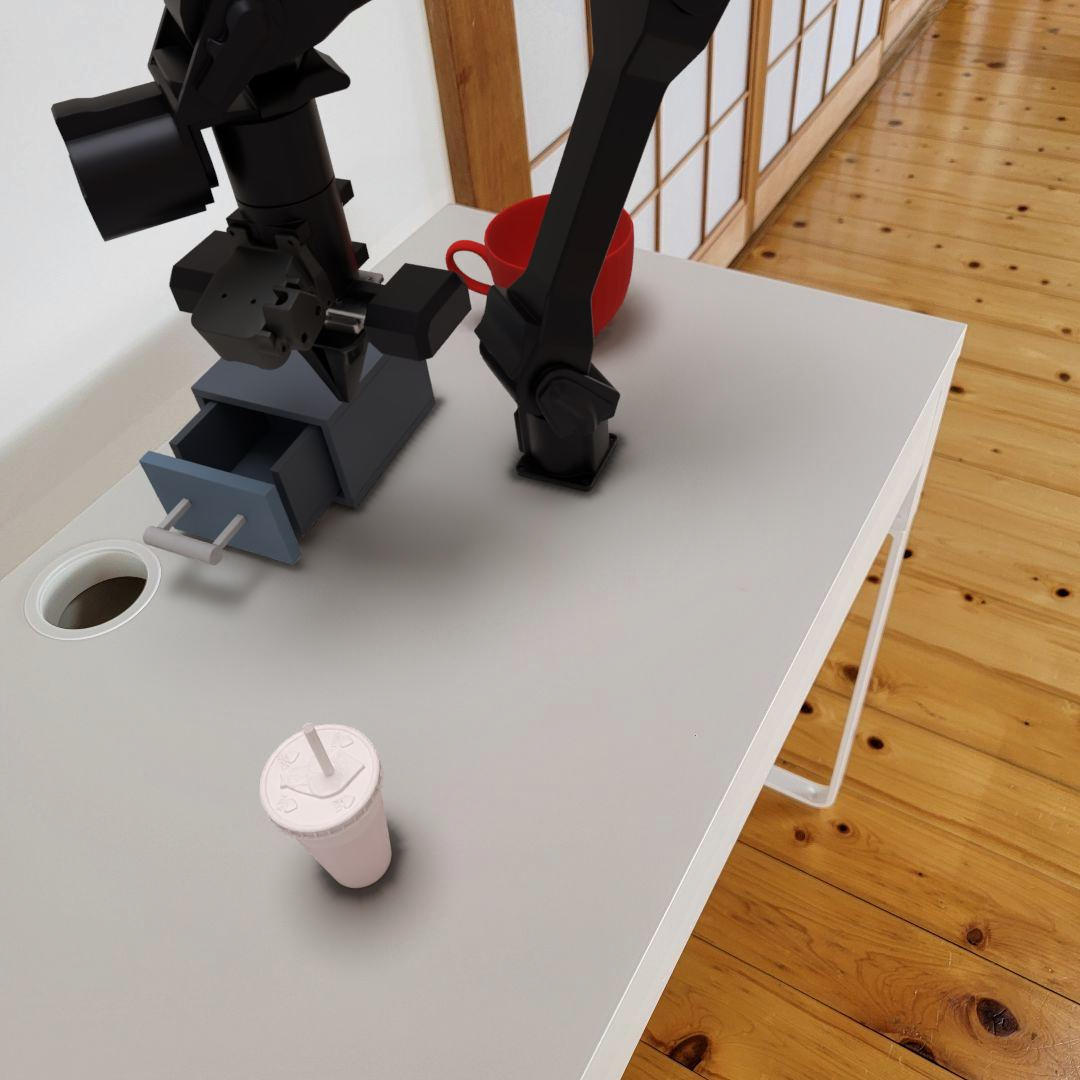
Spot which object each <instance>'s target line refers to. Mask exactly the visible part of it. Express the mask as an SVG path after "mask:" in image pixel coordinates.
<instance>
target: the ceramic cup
mask: <svg viewBox="0 0 1080 1080" xmlns="http://www.w3.org/2000/svg"><path fill="white" fill-rule="evenodd" d="M550 194H551V193H546V194H540V195H537V196H536V195H535V196H533V197H528V198H526V199H523V200H520V201H517V202H516V203H513V204H511V205H510V206H508V207H506V208H504V209H503V210H501V211H500V212H498V213H497V214H496V215H495V216H494V217H493V218H492V219H491V221H490V222H489V223H488V225H487V227H486V229H485V231H484V236H483V243H484V244H483V243H480V242H479V241H474V240H471V239H459V240H456V241H454V242H453V243H451V244H450V245H449V247H448V248H447V249H446V254H445V258H444V260H445V265H446V268H447V270H450V271H454V272H456V273H458V274H460V275H462V276H463V277H464V279H465V281H466V283H467V285H468V290H470V291H472V292H474V293H477V294H480V295H483V296H486V297H487V292H488V290H489V288H490V286H492V285H491V284H487V283H486V282H485V283H484V282H482V281H480V280H476V279H474V278H472V277H470V276H469V275H467V274H466V273H465V272H463V271H462V269H461V268H460V267H459V266H458V264H457V263H456V261H455V258H454V255H455V254H456V253H459V252H470V253H473V254H475V255H477V256H478V257H480V258H481V260H483V261H484V263H485V264H486V266H487V268H488V270H489V271H490V274H491V275H490V276H491V278H492V282H493V285H496V286H500V287H503V288H506V289H507V288H508V287H509V286H510V285H511V284H512V283H513V282H514V281H516V280H517V279H518V278H519V277H520V276H521V275H522V274H523V273H524V272H525V270H526V268H527V266H528V263H529V260H530V257H531V254H532V251H533V247H534V244H535V241H536V238H537V235H538V232H539V228H540V225H541V222H542V219H543V216H544V213H545V209H546V206H547V203H548V200H549V197H550ZM634 229H635V226H634V222H633V219H632V217H631V214H630V213H629V212H628V211H627V210H626V209H625V207H624V208H623V210H622V213H621V216H620V219H619V222H618V224H617V227H616V230H615V233H614V235H613V238H612V241H611V244H610V246H609V249H608V252H607V255H606V258H605V260H604V263H603V266H602V269H601V271H600V274H599V277H598V280H597V282H596V285H595V288H594V291H593V294H592V301H591V303H592V317H593V331H594V339H595V338H596V337H597V336H599V334H600V333H601V332H602V331H603V329H605V328H606V327H607V326H608V325H609V324H610V323H611V321H612V320H613V319H614V318H615V316H616V315H617V313H618V312H619V310H620V309H621V307H622V305H623V304H624V301H625V298H626V295H627V292H628V290H629V287H630V283H631V278H632V274H633V266H634V254H635V230H634Z"/></svg>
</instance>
